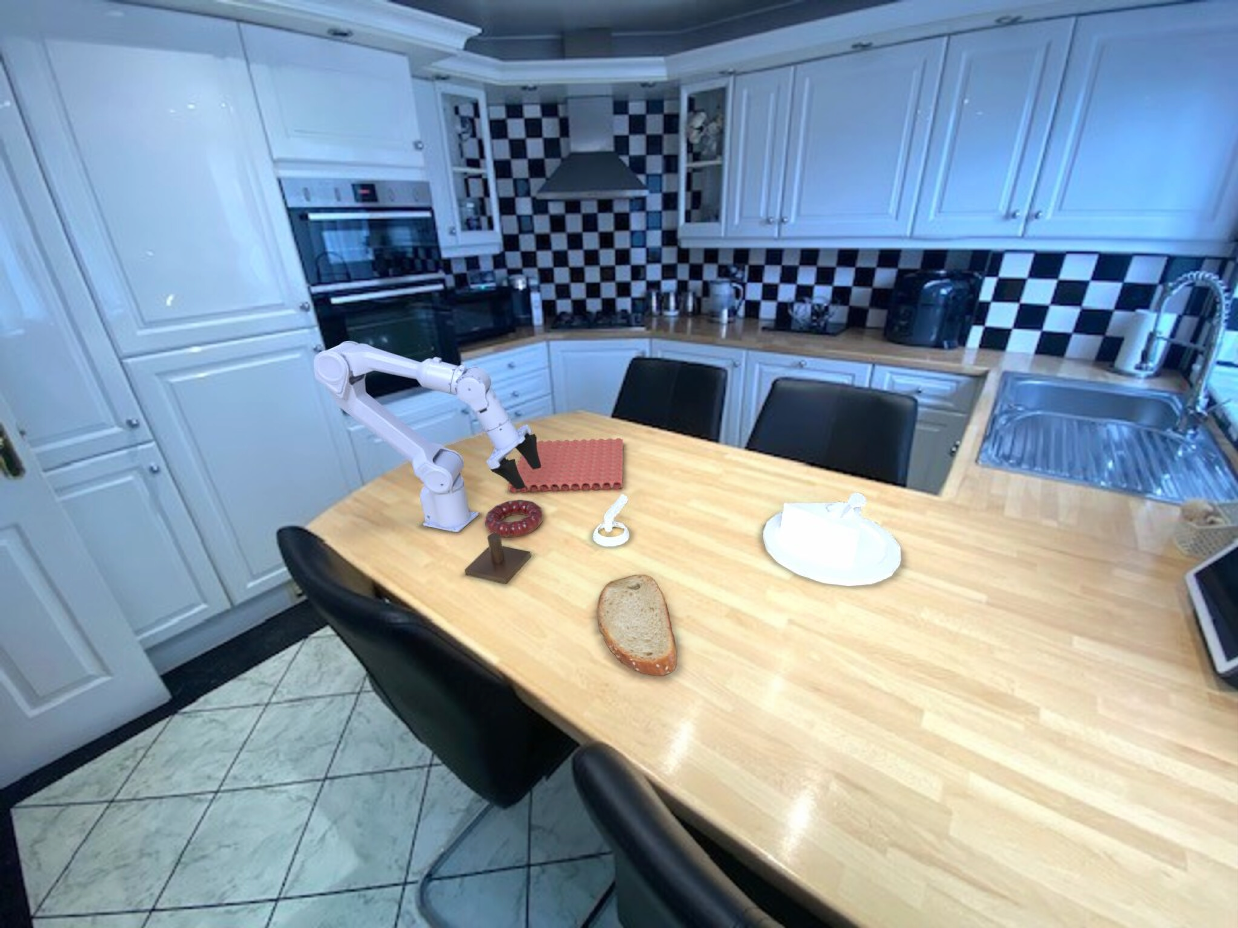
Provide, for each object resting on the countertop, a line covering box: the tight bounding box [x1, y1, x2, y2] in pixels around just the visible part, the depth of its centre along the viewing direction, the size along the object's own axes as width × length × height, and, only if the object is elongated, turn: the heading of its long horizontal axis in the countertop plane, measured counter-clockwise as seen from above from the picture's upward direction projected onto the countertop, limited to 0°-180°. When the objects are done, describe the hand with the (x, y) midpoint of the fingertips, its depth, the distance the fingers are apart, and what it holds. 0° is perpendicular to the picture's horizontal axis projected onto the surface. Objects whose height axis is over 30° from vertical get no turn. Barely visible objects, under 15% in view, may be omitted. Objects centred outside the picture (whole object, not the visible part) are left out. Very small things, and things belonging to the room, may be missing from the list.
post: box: [464, 533, 532, 585], centre depth 96 cm, size 9×9×7 cm
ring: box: [484, 499, 544, 538], centre depth 110 cm, size 12×12×3 cm
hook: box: [592, 493, 631, 547], centre depth 103 cm, size 8×12×7 cm
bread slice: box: [596, 574, 677, 677], centre depth 81 cm, size 18×18×4 cm
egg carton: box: [507, 437, 624, 494], centre depth 136 cm, size 28×28×2 cm
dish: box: [762, 492, 902, 587], centre depth 97 cm, size 25×25×11 cm
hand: (529, 477), depth 109 cm, fingers open, 7 cm apart
